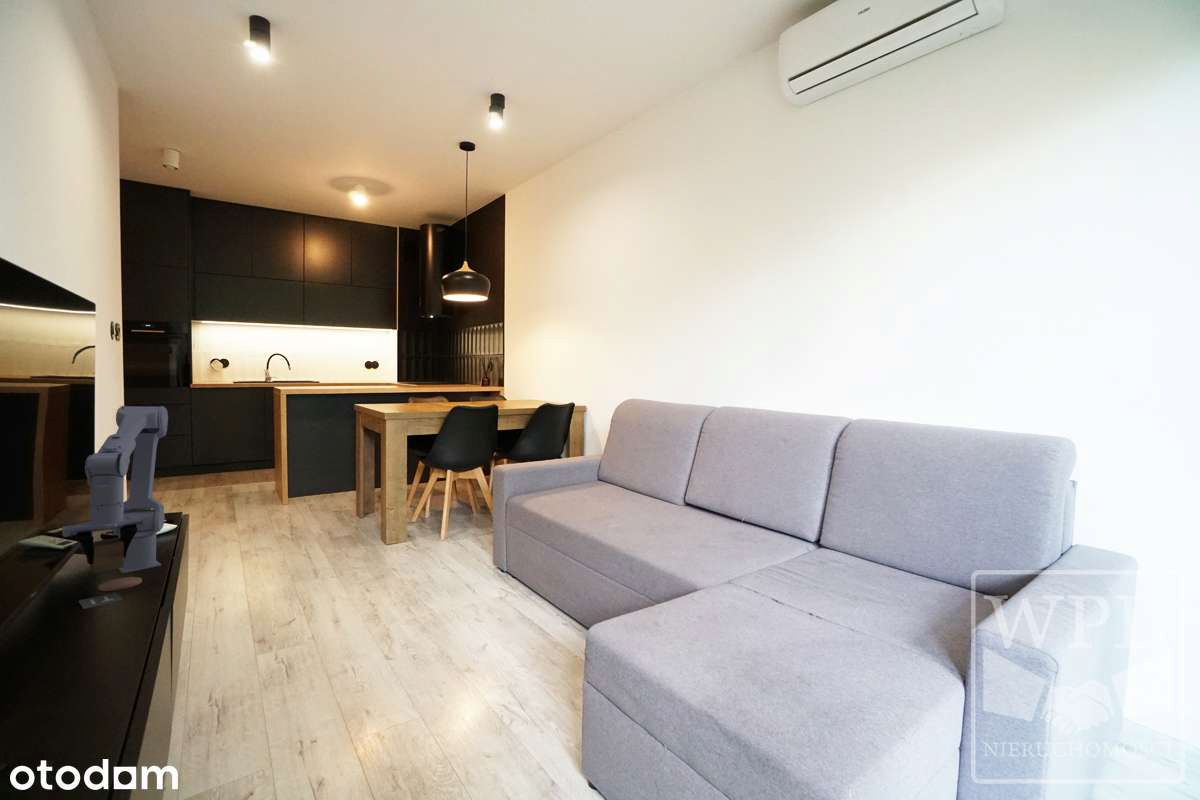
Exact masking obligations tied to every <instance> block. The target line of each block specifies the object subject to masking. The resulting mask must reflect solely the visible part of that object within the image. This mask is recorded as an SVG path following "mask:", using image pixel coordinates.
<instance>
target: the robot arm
mask: <svg viewBox="0 0 1200 800" xmlns="http://www.w3.org/2000/svg"><path fill="white" fill-rule="evenodd" d="M116 410H117V411H116V414H115V423H116V425H117V427H118V428H117V431H116V433H113V434H111V435H109V436H108V437H107V438H106V439H105V441H104V442H103V444H102V445H101V447H100V448H99V449H98V451H97V452H94V453H92V454H90V455H88V456H87V458H86V460H85V463H84V464H85V466H84V472H85V475H86V479H87V486H89V487H90V490H89V492H90V494H89V497H90V498H89V505H90V506H89V507H90V508H89V521H88V522H83V523H78V524H73V525H68V526H62V534H61V535H62V536H63V538H66V537H71V536H74V537H76V539H77V540H78V542H79V543H80V545H81V547H82V548H83V551H84V553H85V557H86V561H87V564H88V565H90V564H93V542H94V539H95V538H94V535H93V533H95V532H102V531H103V532H104V531H108V530H112V532H113V533H114V534H115V535H117V536H118V538H120V539H121V540H122V541H123V542H124V564H123V567H122V568H117V569H118V570H119V571H120V572H121V574H127V573H131V572H136V571H142V570H147V569H153V568H155V567H157V568H158V567H161V566H162V563H160V562H159V561H158V560H157V533H160V532H161V530H162V529H164V524H165V517H166V516H165V507H164V504H163V503H162V502H160V500H157V499H155V498H153V490H154V477H155V467H156V459H157V456H156V455H157V448H158V447H157V446H158V443H159V439H162V438H164V437H166V436H167V435H166V434H167V432H168V423H169V415H168V414H169V413H168V410H167V408H166V407H165V406H162V405H160V406H134V405H133V406H131V405H130V406H129V405H121V406H120V407H119V408H117V409H116ZM132 454H133V458H132V467H131V476H130V478H131V479H130V487H129V497H128V499H127V500H125V501H124V495H125V493H124V492H125V490H124V489H125V487H124V485H125V482H124V481H125V478H124V477H125V476H126V475H127V474H128V471H129V466H130V465H129V464H130V462H131V459H130V457H131V455H132ZM144 508H151V510H138V511H129V510H131V509H144Z"/></svg>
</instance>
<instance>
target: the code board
mask: <svg viewBox="0 0 1200 800" xmlns="http://www.w3.org/2000/svg"><path fill="white" fill-rule="evenodd" d="M122 600H123V598H122V596H120V595H119V594H118V592H115V591H114V592H112V593H108V594H102V595H99V596H98V595H97V596H93V597H88V598H84V599H80V600H78V603H79V605H81V607H82V609H84V610H85V609H88V608H93V607H97V606H101V605H106V604H110V603H115V602H121V601H122Z"/></svg>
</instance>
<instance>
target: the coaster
mask: <svg viewBox="0 0 1200 800" xmlns="http://www.w3.org/2000/svg"><path fill="white" fill-rule="evenodd" d="M142 582H143V579H142V577H137V576H128V577H121V578H116V579H111V580H109V581H108V580H107V581H104V582H102V583H101V584H99V585H98V590H99V591H102V592H108V591H109V592H110V591H111V592H112V591H114V592H115V591H120V590H125V589H129V588H132V587H135V586H138V585H140V584H142Z"/></svg>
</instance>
